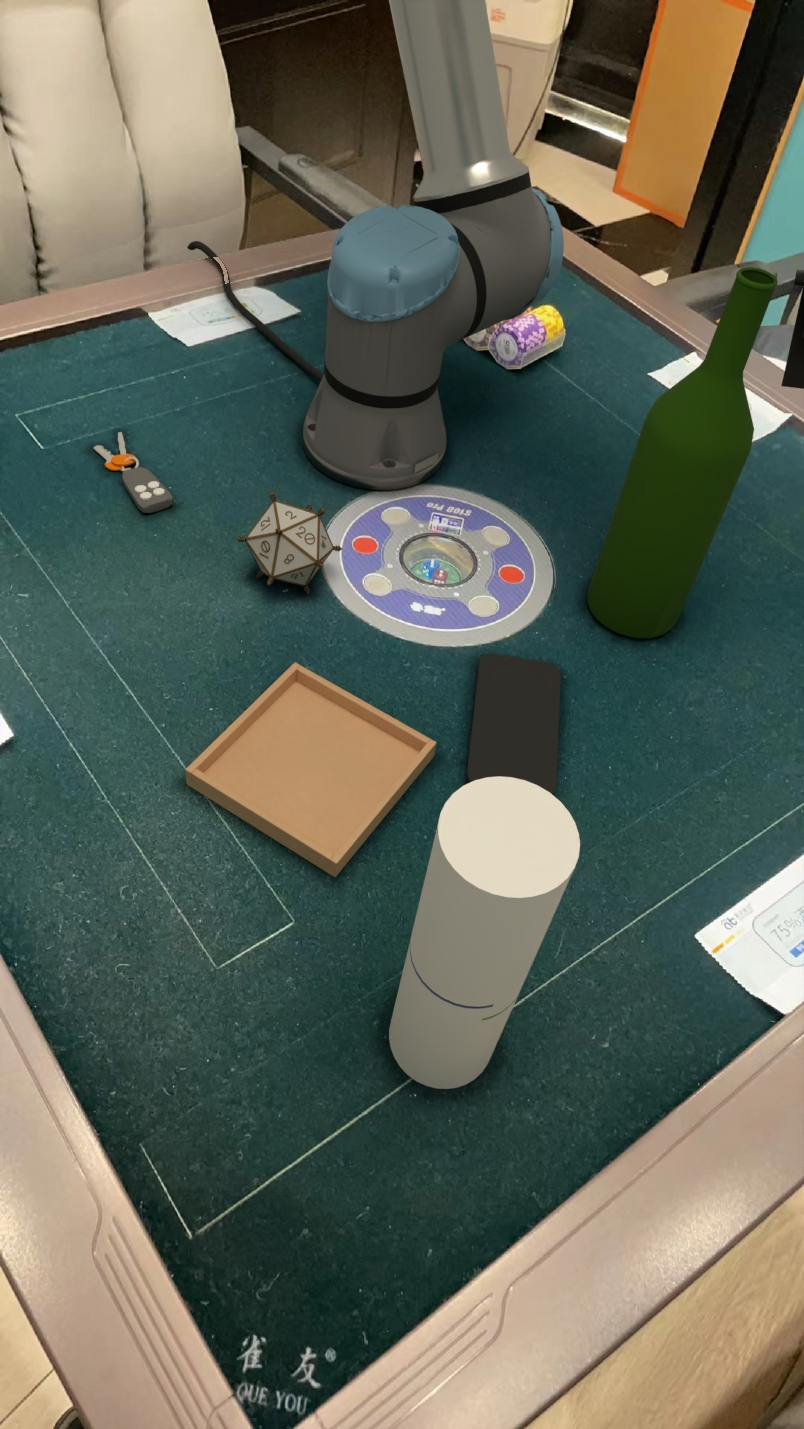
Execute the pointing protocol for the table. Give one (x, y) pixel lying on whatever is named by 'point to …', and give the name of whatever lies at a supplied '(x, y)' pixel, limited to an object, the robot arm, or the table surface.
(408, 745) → the tray
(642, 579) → the wine bottle
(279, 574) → the game die
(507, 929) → the cylindrical container
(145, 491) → the key chain
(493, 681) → the phone
